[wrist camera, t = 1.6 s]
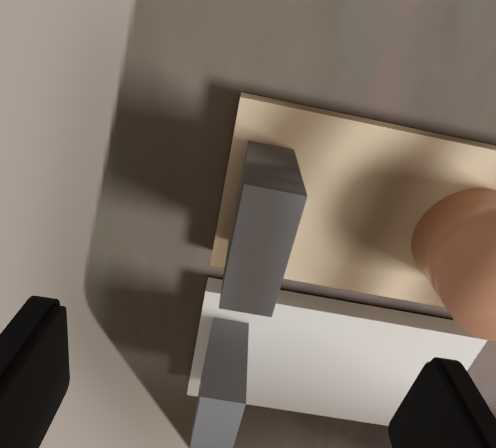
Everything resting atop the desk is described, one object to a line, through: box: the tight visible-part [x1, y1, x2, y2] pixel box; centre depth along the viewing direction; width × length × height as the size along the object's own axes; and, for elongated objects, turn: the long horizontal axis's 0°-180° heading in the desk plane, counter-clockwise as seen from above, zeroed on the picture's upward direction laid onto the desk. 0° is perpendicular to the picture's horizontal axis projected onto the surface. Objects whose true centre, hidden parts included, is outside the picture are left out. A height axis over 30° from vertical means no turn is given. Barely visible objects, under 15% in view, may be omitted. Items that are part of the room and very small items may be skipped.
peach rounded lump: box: [411, 188, 496, 341], centre depth 19 cm, size 6×6×5 cm
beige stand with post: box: [210, 92, 496, 317], centre depth 19 cm, size 19×10×8 cm, turn 79°
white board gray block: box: [187, 277, 487, 448], centre depth 25 cm, size 19×10×8 cm, turn 79°
